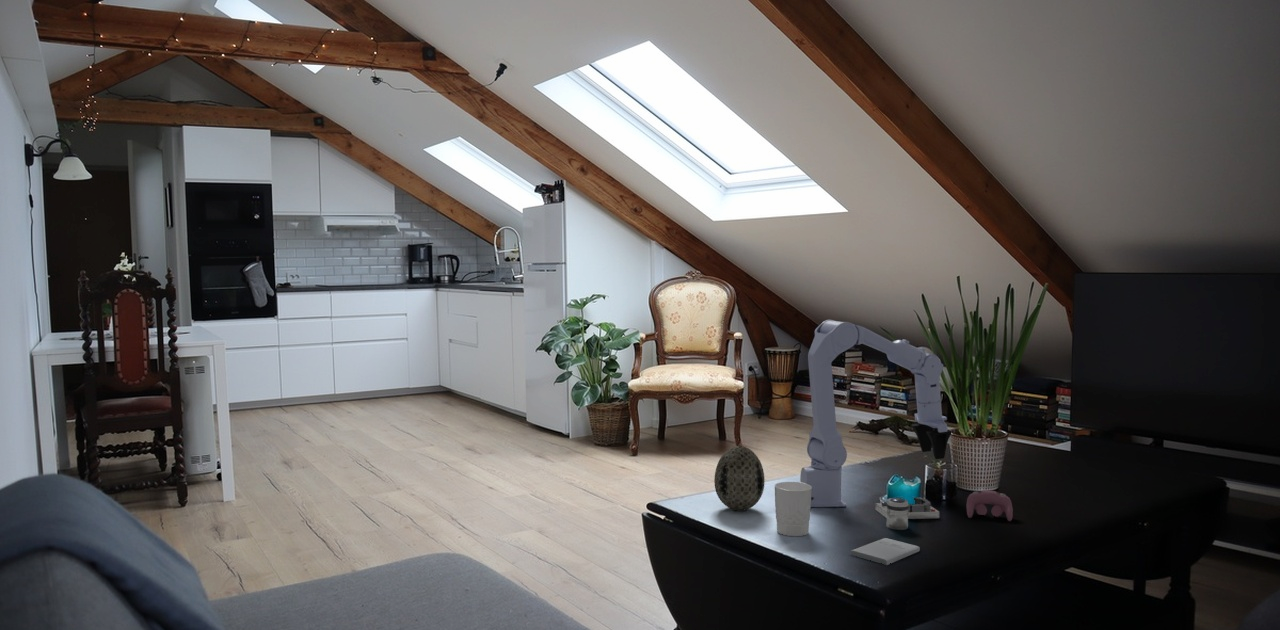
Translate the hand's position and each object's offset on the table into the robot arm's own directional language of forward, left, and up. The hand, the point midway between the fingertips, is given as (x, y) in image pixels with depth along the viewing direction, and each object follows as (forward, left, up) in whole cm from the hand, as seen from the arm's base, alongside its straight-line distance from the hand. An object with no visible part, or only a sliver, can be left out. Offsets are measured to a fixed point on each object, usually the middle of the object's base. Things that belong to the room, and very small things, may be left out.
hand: (933, 454), depth 221 cm
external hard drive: (-27, -41, -11) cm, 51 cm away
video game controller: (+5, -19, -11) cm, 22 cm away
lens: (-18, -24, -10) cm, 32 cm away
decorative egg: (-50, -8, -11) cm, 52 cm away
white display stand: (-12, -15, -10) cm, 22 cm away
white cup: (-42, -26, -11) cm, 51 cm away
